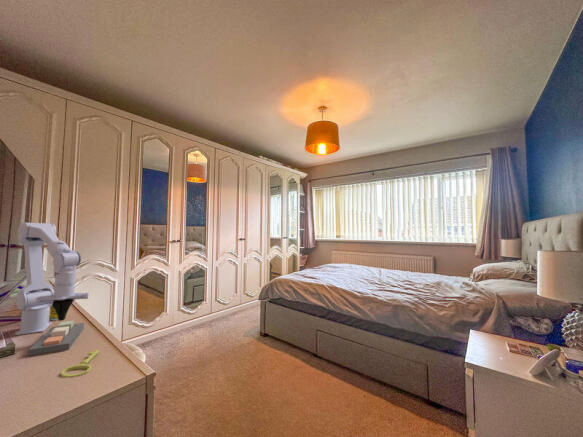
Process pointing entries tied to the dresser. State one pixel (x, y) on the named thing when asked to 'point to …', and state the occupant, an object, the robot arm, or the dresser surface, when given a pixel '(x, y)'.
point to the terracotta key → (53, 340)
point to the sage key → (66, 324)
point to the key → (80, 366)
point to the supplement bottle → (53, 313)
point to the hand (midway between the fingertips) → (61, 319)
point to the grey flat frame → (62, 346)
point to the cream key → (60, 331)
